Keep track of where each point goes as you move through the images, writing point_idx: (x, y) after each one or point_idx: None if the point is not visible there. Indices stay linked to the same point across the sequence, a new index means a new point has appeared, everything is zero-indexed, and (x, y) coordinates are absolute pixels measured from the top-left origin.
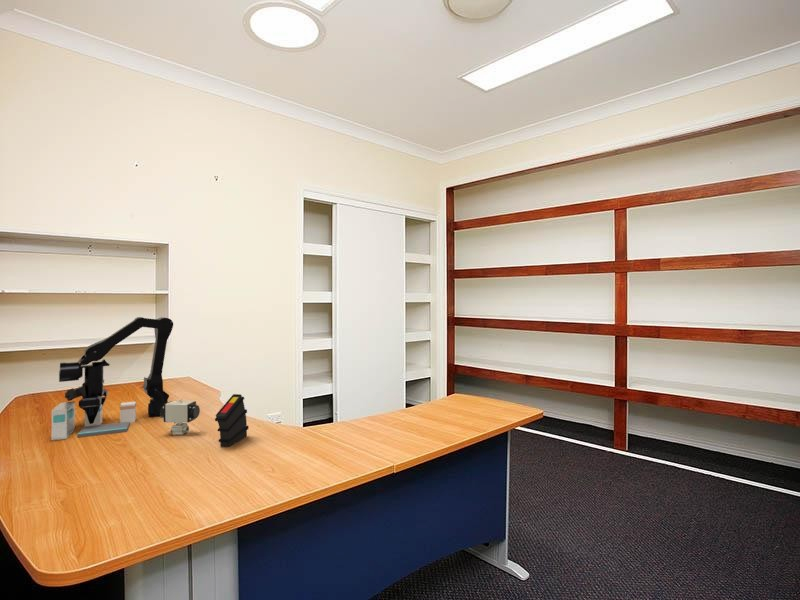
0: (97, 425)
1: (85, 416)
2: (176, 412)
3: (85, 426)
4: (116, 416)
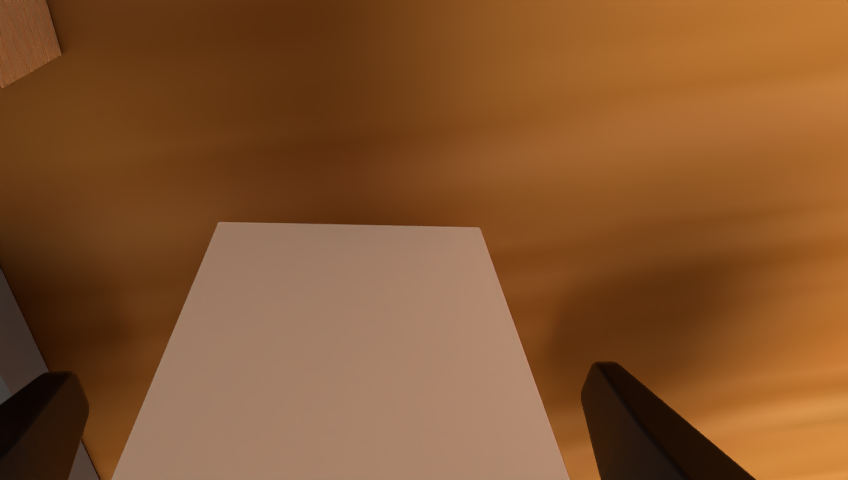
0: None
1: (140, 419)
2: None
3: (216, 236)
4: None
